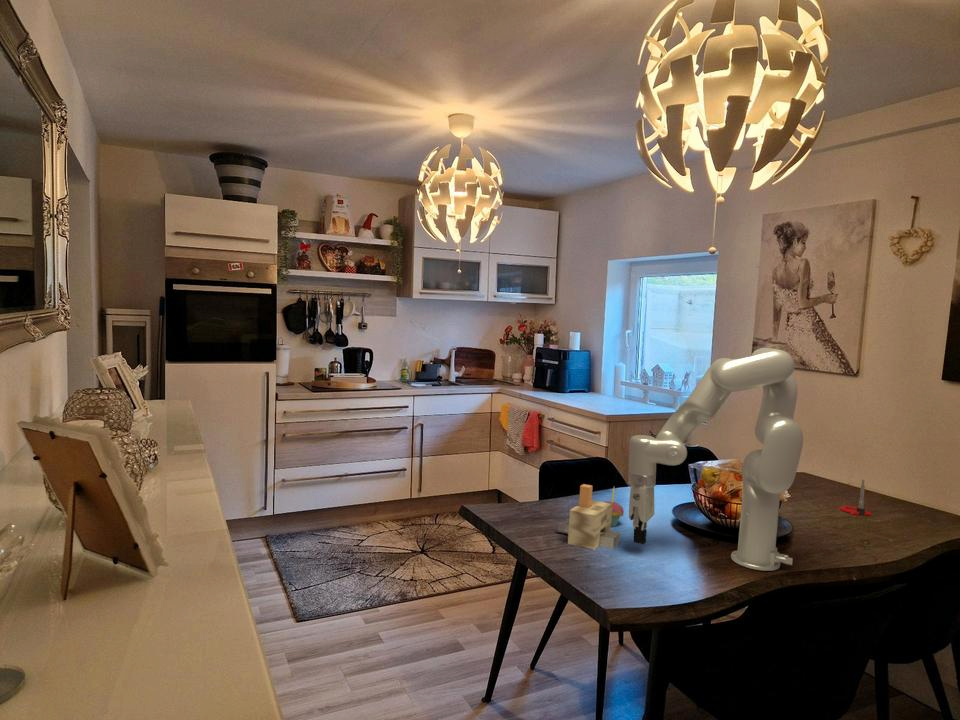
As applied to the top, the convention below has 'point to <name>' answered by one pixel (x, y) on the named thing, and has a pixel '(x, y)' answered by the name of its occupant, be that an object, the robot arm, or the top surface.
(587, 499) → the plunger
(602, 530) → the block
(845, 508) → the grey spike red base
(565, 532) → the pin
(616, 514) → the cupcake
